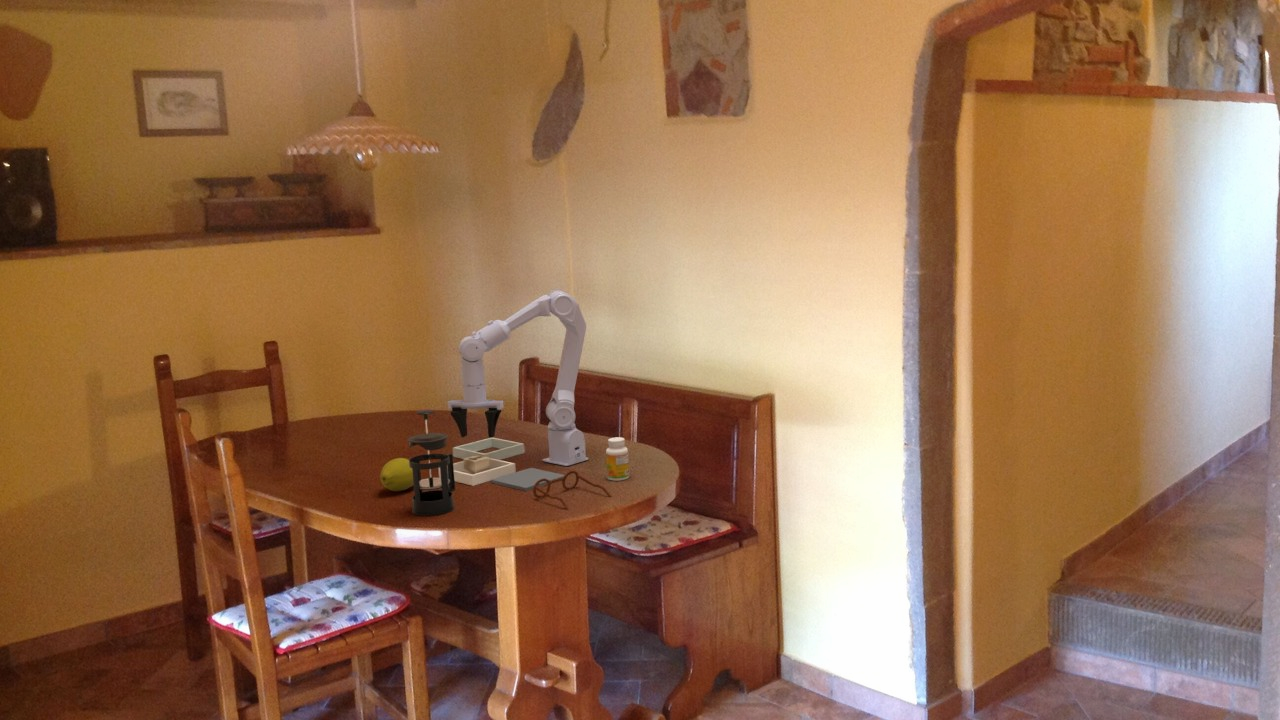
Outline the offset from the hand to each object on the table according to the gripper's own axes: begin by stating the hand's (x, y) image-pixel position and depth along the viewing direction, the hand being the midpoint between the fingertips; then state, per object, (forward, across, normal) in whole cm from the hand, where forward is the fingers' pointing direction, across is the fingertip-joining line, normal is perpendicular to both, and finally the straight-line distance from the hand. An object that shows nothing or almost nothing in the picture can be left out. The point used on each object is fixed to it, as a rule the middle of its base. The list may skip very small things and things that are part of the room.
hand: (477, 436), depth 284 cm
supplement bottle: (+9, -38, +4) cm, 39 cm away
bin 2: (+9, -2, +5) cm, 10 cm away
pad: (+9, -17, +8) cm, 21 cm away
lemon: (+9, +12, +21) cm, 25 cm away
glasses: (+9, -33, +21) cm, 40 cm away
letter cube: (+9, -2, +5) cm, 10 cm away
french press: (+9, -4, +33) cm, 35 cm away
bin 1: (+9, +4, -15) cm, 17 cm away
